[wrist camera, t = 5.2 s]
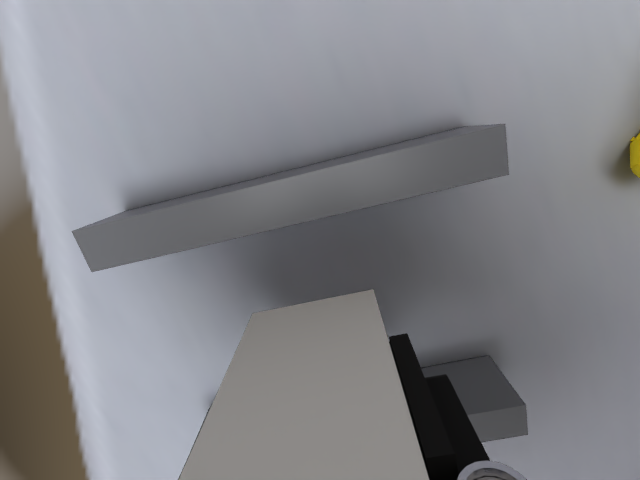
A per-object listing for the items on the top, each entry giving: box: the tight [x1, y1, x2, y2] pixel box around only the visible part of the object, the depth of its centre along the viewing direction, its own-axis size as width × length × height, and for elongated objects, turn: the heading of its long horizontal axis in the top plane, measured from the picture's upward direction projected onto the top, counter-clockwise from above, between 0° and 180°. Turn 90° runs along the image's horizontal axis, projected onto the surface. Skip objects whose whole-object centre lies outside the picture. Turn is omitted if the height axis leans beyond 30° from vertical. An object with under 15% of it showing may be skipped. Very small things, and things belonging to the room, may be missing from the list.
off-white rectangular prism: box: [179, 289, 429, 480], centre depth 8 cm, size 4×5×7 cm
